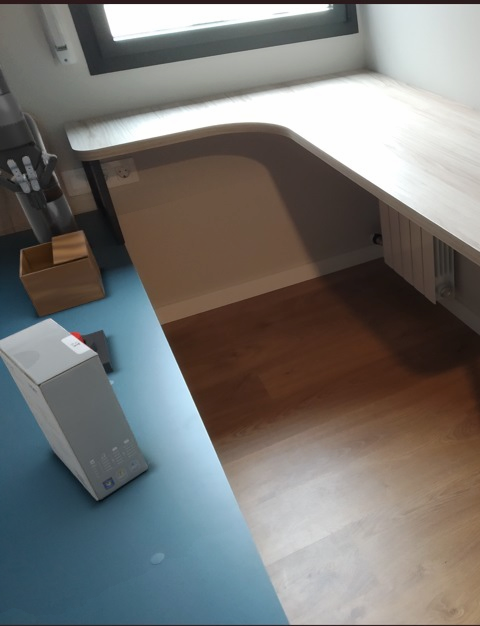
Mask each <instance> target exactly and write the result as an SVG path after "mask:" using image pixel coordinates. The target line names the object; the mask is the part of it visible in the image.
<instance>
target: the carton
mask: <svg viewBox="0 0 480 626" xmlns="http://www.w3.org/2000/svg"><path fill="white" fill-rule="evenodd" d="M83 233H84V238H85V243H86V248H87V253H88V256H86V257H82V258H78V259H74V260H70V261H67V262H63V263H59V264H55V265H54V260H53V247H52V242H48V243H44V244H40V245H39V244H37V245H32V246H30V247H25V248H22V249H20V250H19V252H20V254H19V256H20V257H19V279H20V281H21V283H22V285H23V287H24V289H25V292H26V293H27V296H28V297H29V299H30V301H31V303H32V305H33V306H34V309H35V311H36V313H37V315H38V317H39V318H41V317H46V316H48V315H51V314H56V313H58V312H62V311H66V310H68V309H73V308H75V307H79V306H82V305H85V304H88V303H92V302H95V301H98V300H102V299H105V298H107V296H106V291H105V288H104V282H103V278H102V274H101V269H100V267H99V264H98V262H97V260H96V257H95V254H94V252H93V251H92V248H91V245H90V243H89V240H88V238H87V235H86V234H85V232H83Z"/></svg>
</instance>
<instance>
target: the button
mask: <svg viewBox="0 0 480 626" xmlns="http://www.w3.org/2000/svg"><path fill="white" fill-rule="evenodd" d="M69 333H70V334H71V335H73V336H75V337H76V338H77V339H79V340H80V341H81V342H83V343H84V341H83V339H82V337H81V335H82V334H81V333H80V332H79V331H78V332H77V331H71V332H69ZM84 344H85V343H84Z"/></svg>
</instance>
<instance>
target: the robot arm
mask: <svg viewBox="0 0 480 626" xmlns="http://www.w3.org/2000/svg"><path fill="white" fill-rule="evenodd" d="M57 162H58V156H57V154H55V153H48V152H47V149H46V147H45V144H44V141H43V139H42V135H41V133H40V130H39V128H38V125H37V124H36V121H35V120H34V118H33V117H32V116H31V115H30V114H29V113H27V112H23V110H22V108H21V105H20V103H19V101H18V99H17V98H16V96H15V94H14V92H13V90H12V87H11V85H10V83H9V81H8V78H7V76H6V74H5V72H4V68H3V66H2V63H1V62H0V186H2V187H4V188H5V189H7V190H9V191H10V192H13V193H14V194H15V195H16V198H17V199H18V202H19V204H20V206H21V208H22V210H23V213H24V215H25V217H26V219H27V221H28V223H29V226H30V227H31V231H32V232H33V234H34V237H35V239H36V240H37V243H38V245H40V244H44V243H48V242H52V237H57V236H61V235H65V234H69V233H73V232H77V231H80V229H79V225H78V224H77V221H76V220H75V217H74V215H73V211H72V210H71V207H70V204H69V202H68V200H67V198H66V196H65V193H64V191H63V189H62V186H61V183H60V181H59V178H58V177H57V173H56V172H55V167H56V165H57ZM1 170H2V171H4V172H6V173H7V174H9V175H10V176H12V177H11V178H9V177H7V176H6V175H4V174H2V171H1Z"/></svg>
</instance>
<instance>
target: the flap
mask: <svg viewBox="0 0 480 626" xmlns="http://www.w3.org/2000/svg"><path fill="white" fill-rule="evenodd" d="M84 233H85V232H84V230H79V231H77V232H73V233H69V234H65V235H61V236H57V237H52V247H53V260H54V265H55V264H59V263H63V262H67V261H70V260H74V259H78V258H82V257H86V256H88V253H87V248H86V243H85V238H84Z"/></svg>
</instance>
